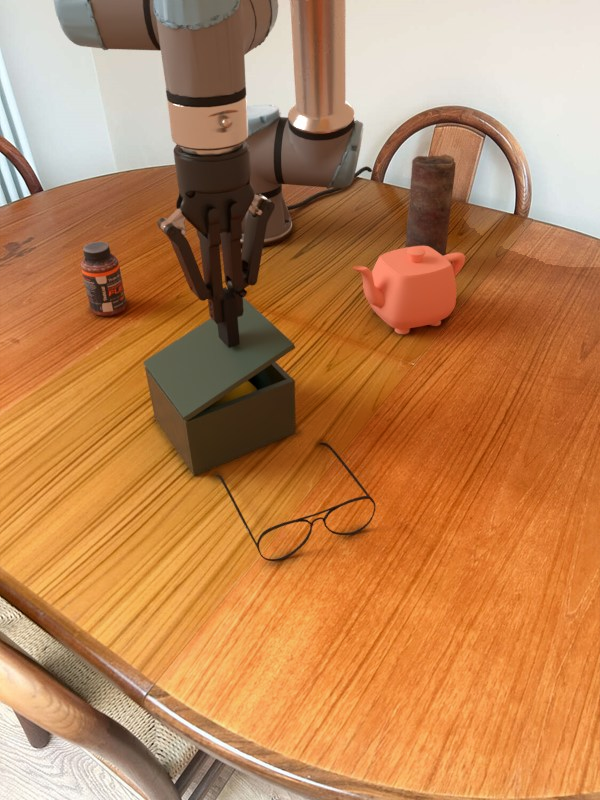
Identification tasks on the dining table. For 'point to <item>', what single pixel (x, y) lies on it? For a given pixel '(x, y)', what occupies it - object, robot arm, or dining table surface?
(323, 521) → the glasses
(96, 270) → the supplement bottle
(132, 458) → the dining table surface
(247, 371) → the lid
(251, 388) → the lemon
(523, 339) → the dining table surface
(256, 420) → the chest
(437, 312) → the teapot
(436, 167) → the candle
